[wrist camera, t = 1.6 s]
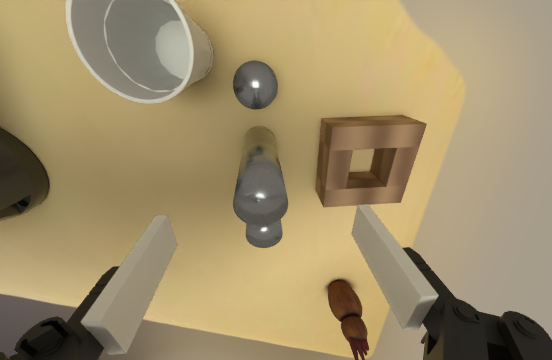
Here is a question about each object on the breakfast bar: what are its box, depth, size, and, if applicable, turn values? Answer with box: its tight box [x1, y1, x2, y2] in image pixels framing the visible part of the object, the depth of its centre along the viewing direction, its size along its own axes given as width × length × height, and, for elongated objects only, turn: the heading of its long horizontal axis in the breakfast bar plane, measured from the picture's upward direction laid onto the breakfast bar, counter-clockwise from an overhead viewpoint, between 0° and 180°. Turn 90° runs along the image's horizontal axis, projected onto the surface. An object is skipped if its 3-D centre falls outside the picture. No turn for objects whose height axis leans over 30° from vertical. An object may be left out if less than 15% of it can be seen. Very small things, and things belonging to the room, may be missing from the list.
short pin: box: [233, 61, 278, 109], centre depth 24 cm, size 4×4×7 cm
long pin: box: [233, 126, 288, 226], centre depth 24 cm, size 4×4×16 cm
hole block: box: [316, 115, 427, 207], centre depth 31 cm, size 12×12×5 cm
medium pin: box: [246, 219, 282, 248], centre depth 30 cm, size 4×4×11 cm
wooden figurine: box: [328, 281, 369, 360], centre depth 42 cm, size 7×6×15 cm
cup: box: [65, 0, 214, 104], centre depth 19 cm, size 8×8×12 cm
